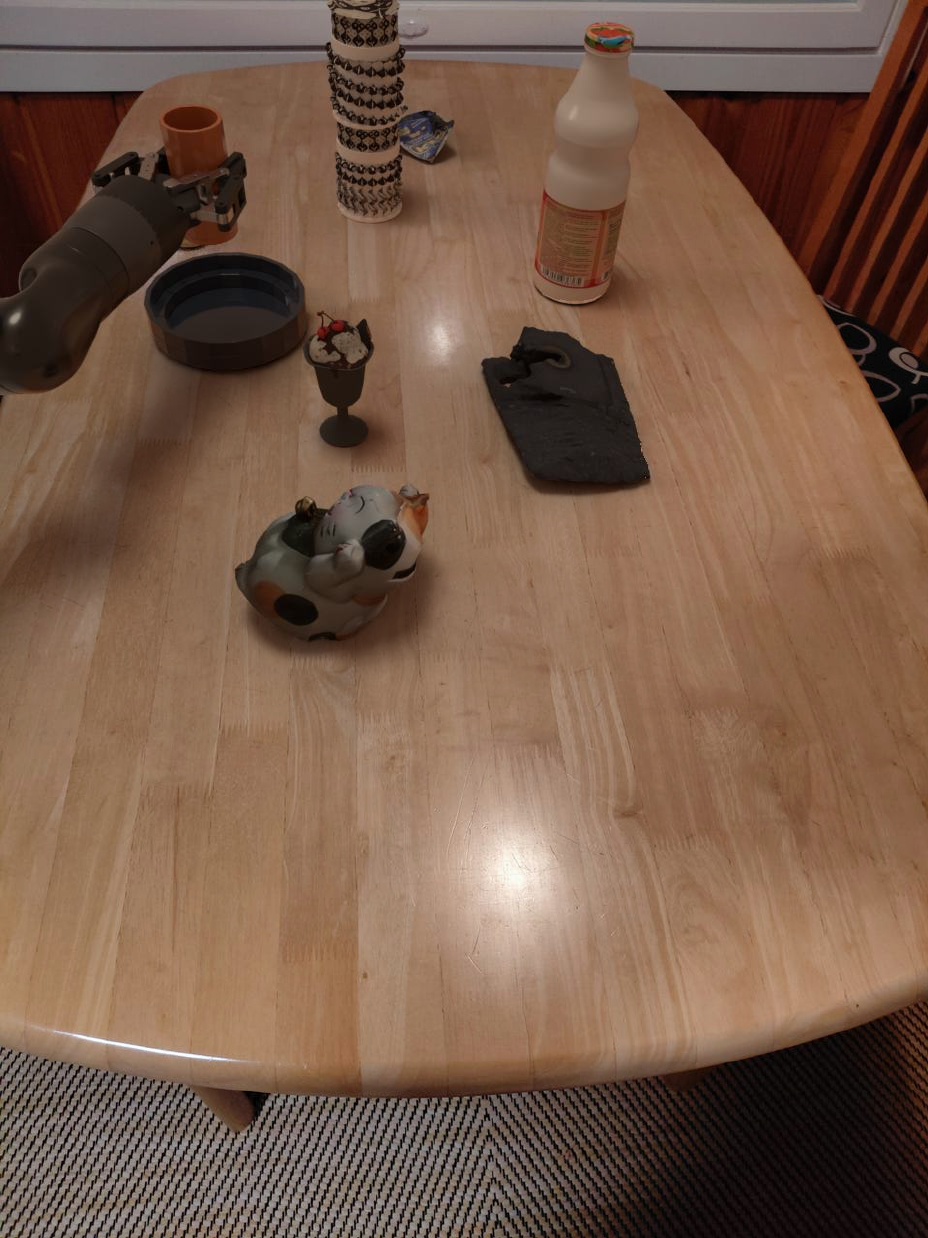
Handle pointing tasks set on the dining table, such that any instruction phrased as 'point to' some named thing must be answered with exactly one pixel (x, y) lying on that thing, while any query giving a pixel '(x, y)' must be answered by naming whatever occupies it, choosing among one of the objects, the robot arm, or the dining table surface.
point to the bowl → (226, 310)
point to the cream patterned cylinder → (366, 107)
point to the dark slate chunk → (566, 410)
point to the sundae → (340, 375)
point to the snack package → (423, 133)
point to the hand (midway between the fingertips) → (210, 155)
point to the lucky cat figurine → (335, 561)
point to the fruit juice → (588, 170)
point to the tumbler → (196, 156)
